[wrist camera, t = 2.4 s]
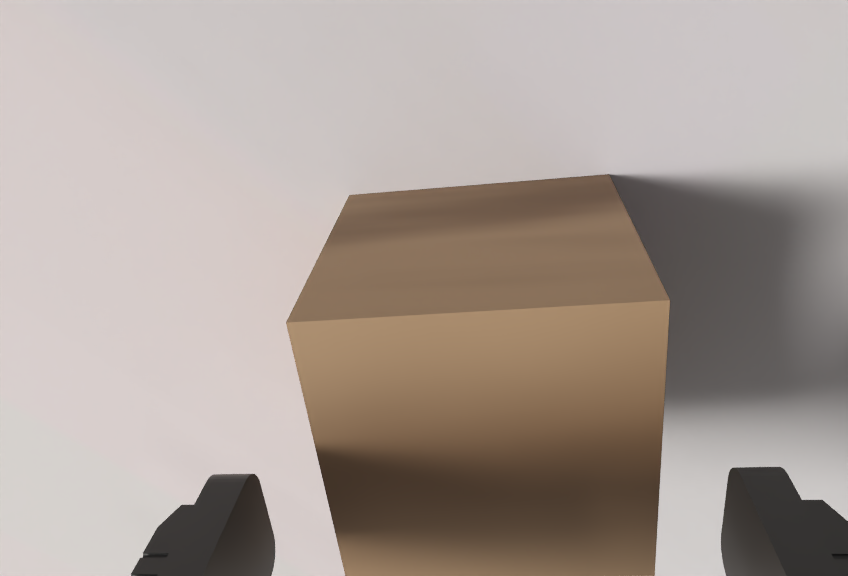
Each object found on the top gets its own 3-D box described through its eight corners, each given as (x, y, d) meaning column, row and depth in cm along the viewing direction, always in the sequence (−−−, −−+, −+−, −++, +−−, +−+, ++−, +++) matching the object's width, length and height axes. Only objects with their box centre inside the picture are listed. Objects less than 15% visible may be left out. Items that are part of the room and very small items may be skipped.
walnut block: (349, 194, 17) (286, 322, 11) (608, 173, 16) (670, 299, 11) (384, 398, 19) (346, 579, 14) (606, 388, 19) (654, 575, 13)
